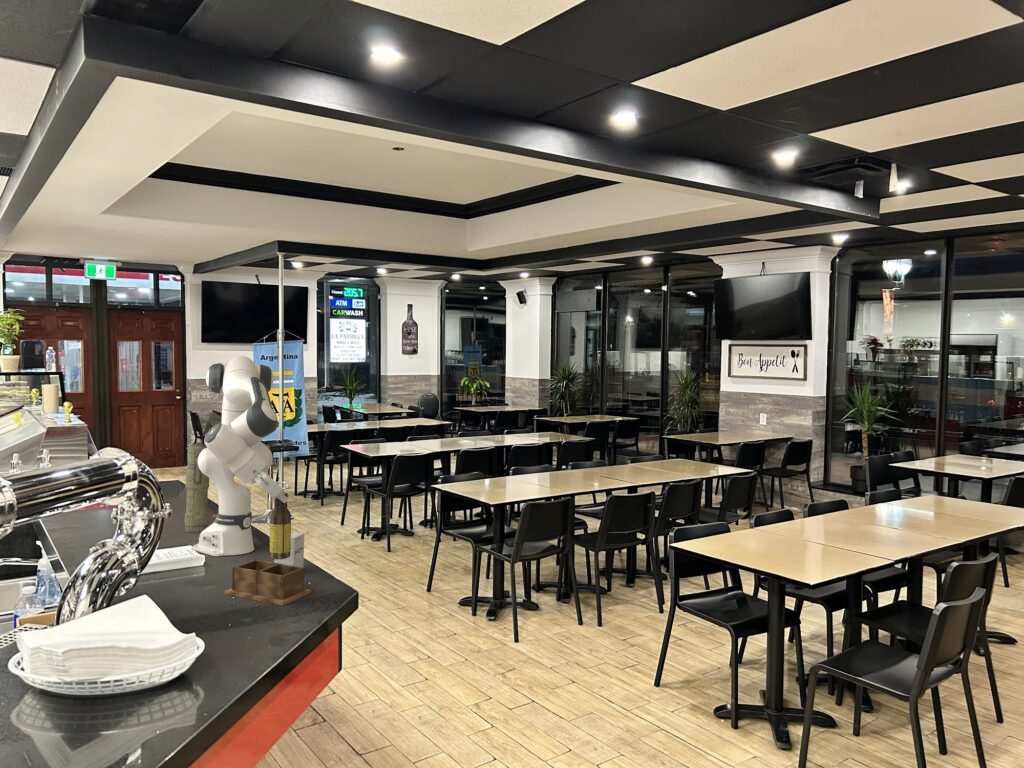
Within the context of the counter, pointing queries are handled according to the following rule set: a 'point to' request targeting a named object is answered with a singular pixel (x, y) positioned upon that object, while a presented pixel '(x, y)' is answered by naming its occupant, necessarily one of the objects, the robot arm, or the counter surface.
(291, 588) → the condiment caddy
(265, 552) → the counter surface
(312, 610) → the counter surface
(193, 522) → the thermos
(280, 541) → the sauce bottle
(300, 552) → the supplement box
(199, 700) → the counter surface
